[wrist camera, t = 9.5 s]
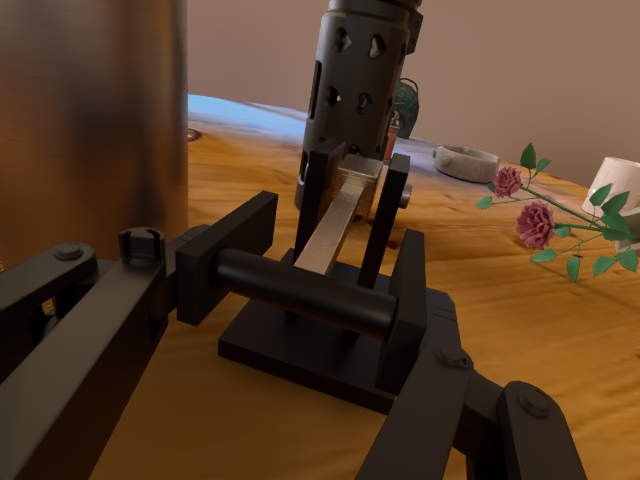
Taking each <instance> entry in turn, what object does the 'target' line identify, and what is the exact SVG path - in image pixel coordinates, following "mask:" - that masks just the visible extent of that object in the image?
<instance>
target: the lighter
mask: <svg viewBox="0 0 640 480" xmlns="http://www.w3.org/2000/svg"><path fill="white" fill-rule="evenodd" d="M394 112H395V117H394V118H392V120H391V124H390V128H389V132H388V136H389V140H388V144H387V148H386V151H385V155H384V159H383V162H384V163H383V164H386V165H390V162H391V155H392V151H393V147H394V144H395V140H396V136H397V133H398V132H399V129H400V126H399V125H397V124H396V121H398V119H399V114H398V112H397V111H394Z"/></svg>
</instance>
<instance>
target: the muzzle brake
mask: <svg viewBox="0 0 640 480" xmlns="http://www.w3.org/2000/svg"><path fill="white" fill-rule="evenodd" d="M421 3H422V0H330V1H329V7H328V11H327V12H326V13H325V14H324V15H323V17H322V20H321V27H320V33H319V40H318V47H317V54H316V64H315V72H314V78H313V85H312V92H311V98H310V105H309V112H308V117H307V121H306V128H305V135H304V141H303V152H302V159H301V166H300V172H299V177H298V182H297V189H296V195H295V205H296V207H297V208H298V209H299V210H300V211H301V205H302V199H303V192H304V186H305V183H304V174H305V170H306V167H307V164H308V161H309V155H310V150H311V149H313V148H315V147H316V146H318V145H320V144H321V143H323V142H325V141H326V140H328V139H330V138H333V139H338V140H342V141H345V147H344V152H343V157H342V161H343V159H344V158H345V157H346V155H347V154H352V155H357V156H361V157H365V158H369V159H374V160H378V161H382V162H383V159H384V155H385V151H386V148H387V144H388V140H389V136H388V132H389V128H390V124H391V120H392V118H394V117H395V112H394V111H393V110H392V107H393V103H394V99H395V95H396V91H397V87H398V83H399V79H400V75H401V72H402V68H403V64H404V59H405V56H406V55H408V54H411V53H413V52H414V51H415V47H416V43H417V39H418V36H419V32H420V28H421V24H422V21H423V15H421V14H420V13H419V12H417V8H418V7H419V6H420V5H421ZM338 95H339V96H340V98H341V100H339V101H337V97H338ZM366 99H367V102H368V104H367V105H366V106H364V101H365V100H366ZM342 161H341V162H342ZM362 218H363V216H360V215H355V217H354V220H353V222H356V221H358V220H361V219H362Z"/></svg>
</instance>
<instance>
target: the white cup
mask: <svg viewBox="0 0 640 480" xmlns="http://www.w3.org/2000/svg"><path fill="white" fill-rule="evenodd" d="M610 183H612V185H611V188H610V192H609V194H608V196H607V197H606V199H605V200H604V202H603V203H602V204H601V206H602V205H603V204H604V203H605V202H607V201H608V200H609V199H611V198H612V197H613V196H616V195H618V194H621V193H624V192H627V191H630V193H629V196H628V199H627V202H626V204H625V205H624V207H623V208H622V209H621V210H620V211H619V213H622V212H625V211H629V210H631V209H633V208H634V207H635V205H636V204H637V203H638V201H639V200H640V163H635V162H632V161H628V160H623V159H618V158H613V157H605V159H604V161H603V163H602V166H601V168H600V170H599V172H598V173H597V176H596V177H595V180H594V182H593V184H592V186H591V188H590V190H589V192H588V194H587V196H588V197H586V200H585V202H584V204H583V206H582V208H581V209H582V210H583V211H585V212H587V213H589V214H591V215H594V206H593V205H592V204H591V202H590V201H589V198H590V197H591V196H592V194H594V193H595V192H596V191H597V190H598V189H599V188H601V187H603V186H606V185H608V184H610ZM601 206H595V215H594V216H596V217H599V218H601V217H602V215H603V213H604V212H603V211H602V209H601V208H600V207H601Z"/></svg>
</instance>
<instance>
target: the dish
mask: <svg viewBox="0 0 640 480" xmlns="http://www.w3.org/2000/svg"><path fill="white" fill-rule="evenodd" d="M432 157H433V158H436V159H435V164H434V165H435V167H436V168H437V169H438V170H440V171H442V172H444V173H446V174H448V175H451V176H454V177H457V178H460V179H464V180H468V181H473V182H480V183H487V182H491V181H493V179H494V178H495V176H496V175H497V173H498V168H499V163H500V158H499V157H497V156H496V155H493V154H491V153H487V152H484V151H481V150H477V149H473V148H465V147H462V146H449V145H441V146H440V148H439V149H438V148H433V150H432Z"/></svg>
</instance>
